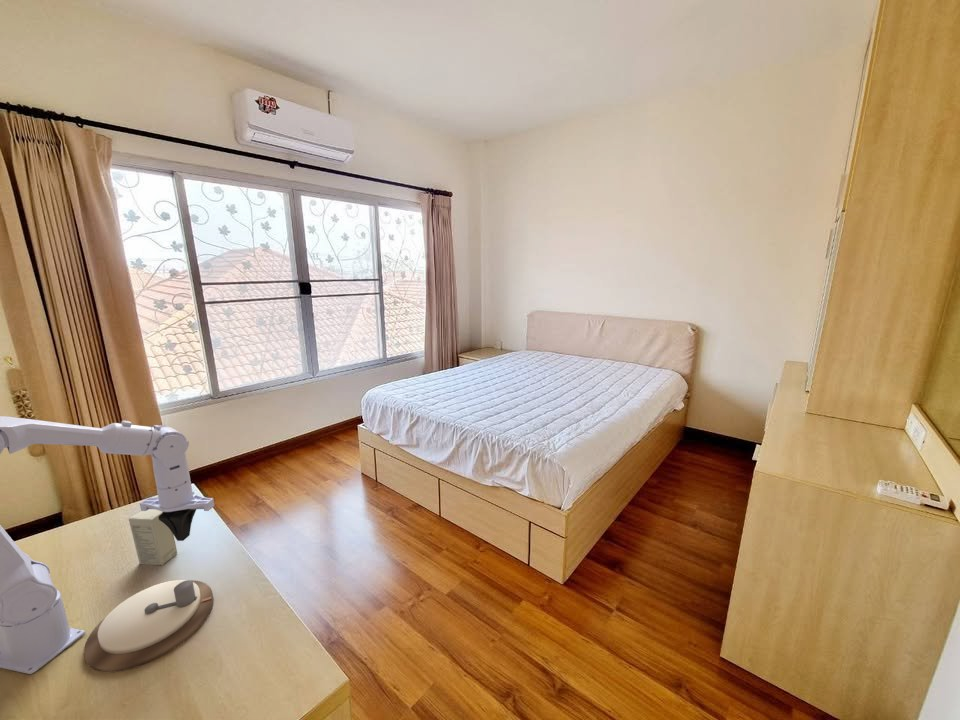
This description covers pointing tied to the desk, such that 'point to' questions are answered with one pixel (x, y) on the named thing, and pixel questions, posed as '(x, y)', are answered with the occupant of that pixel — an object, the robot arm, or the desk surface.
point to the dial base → (127, 661)
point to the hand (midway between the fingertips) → (183, 537)
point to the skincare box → (152, 538)
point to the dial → (149, 616)
